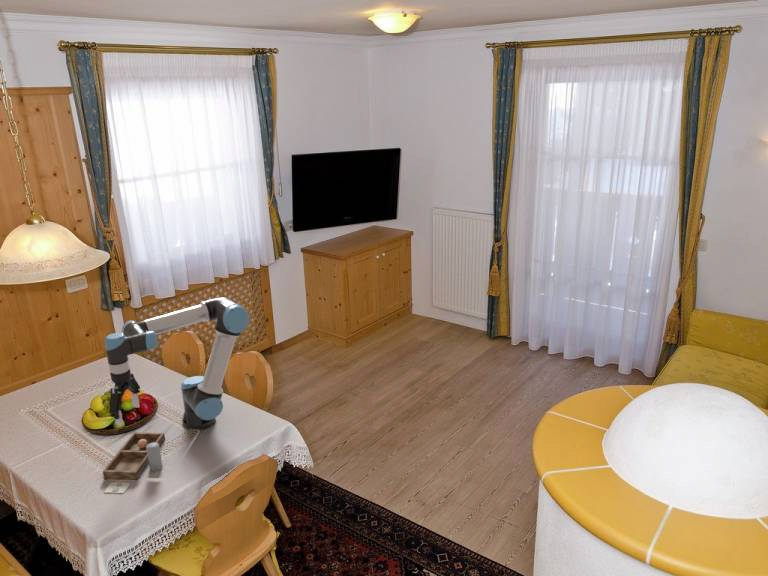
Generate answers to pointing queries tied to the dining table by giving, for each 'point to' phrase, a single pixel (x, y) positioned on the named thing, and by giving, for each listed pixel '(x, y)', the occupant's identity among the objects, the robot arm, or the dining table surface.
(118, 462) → the tray
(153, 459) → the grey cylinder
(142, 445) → the ball
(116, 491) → the card
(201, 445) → the dining table surface
